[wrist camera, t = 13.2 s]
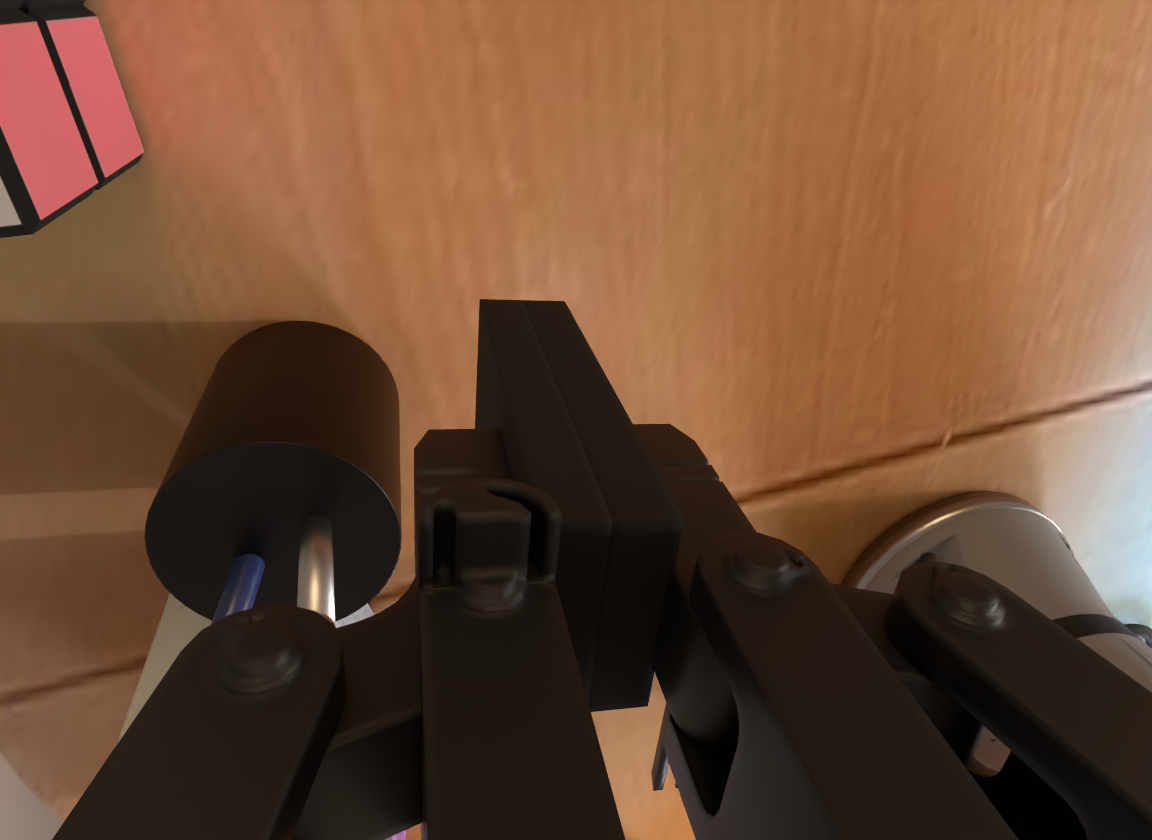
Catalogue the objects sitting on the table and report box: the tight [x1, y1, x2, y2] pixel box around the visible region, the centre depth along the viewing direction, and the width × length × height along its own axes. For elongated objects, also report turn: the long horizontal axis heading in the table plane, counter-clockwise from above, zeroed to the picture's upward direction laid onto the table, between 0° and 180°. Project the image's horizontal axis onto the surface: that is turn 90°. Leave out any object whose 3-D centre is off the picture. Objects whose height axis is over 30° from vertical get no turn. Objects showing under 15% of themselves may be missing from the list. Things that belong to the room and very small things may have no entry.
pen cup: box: [145, 321, 401, 627], centre depth 27 cm, size 8×8×16 cm
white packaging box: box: [117, 593, 375, 744], centre depth 33 cm, size 7×7×13 cm
